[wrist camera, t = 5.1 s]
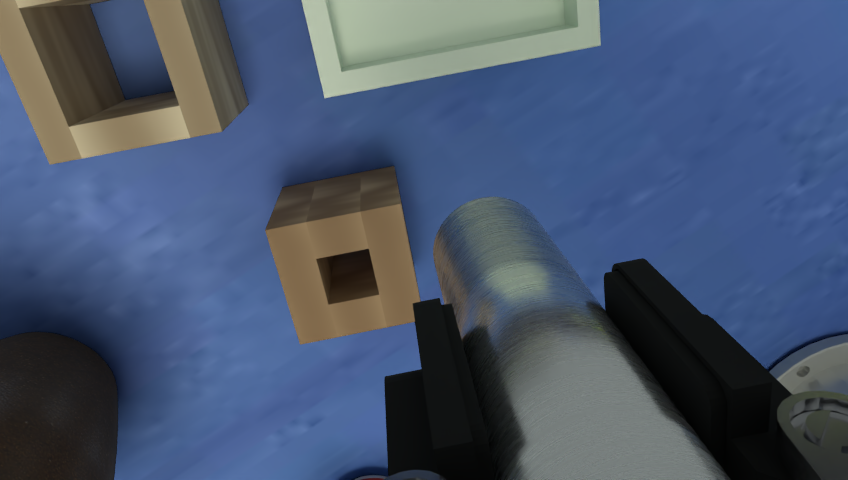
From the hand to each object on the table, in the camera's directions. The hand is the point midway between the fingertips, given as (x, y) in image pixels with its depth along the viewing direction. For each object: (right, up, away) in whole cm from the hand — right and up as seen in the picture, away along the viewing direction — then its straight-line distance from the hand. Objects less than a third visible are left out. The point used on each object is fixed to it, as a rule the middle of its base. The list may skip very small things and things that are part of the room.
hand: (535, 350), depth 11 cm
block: (-6, +3, +21) cm, 22 cm away
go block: (-15, +11, +16) cm, 25 cm away
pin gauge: (0, +2, +4) cm, 5 cm away
